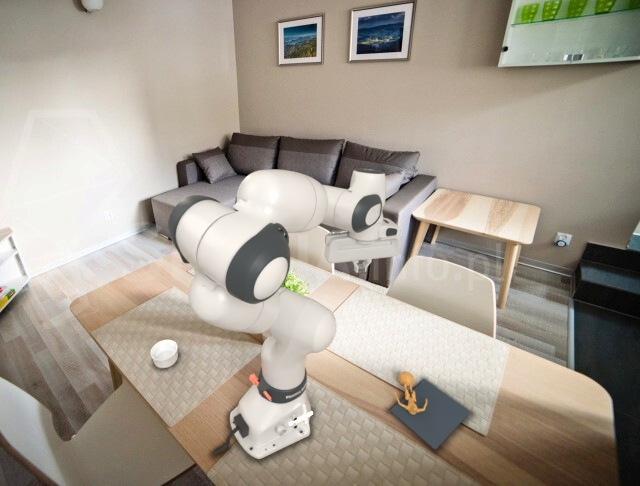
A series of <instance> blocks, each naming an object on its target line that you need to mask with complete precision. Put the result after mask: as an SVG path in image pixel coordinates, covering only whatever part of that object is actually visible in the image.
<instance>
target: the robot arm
mask: <svg viewBox="0 0 640 486" xmlns="http://www.w3.org/2000/svg"><path fill="white" fill-rule="evenodd" d="M386 198H387V178H386V173H385V172H384V171H382V170H379V169H374V168H370V167H369V168H368V167H367V168H366V167H358V168H356V169H354V170H353V171H352V175H351V178H350V184H349V188H342V187H337V186H333V185H328V184H325V183H321V182H320V181H318V180H317V179H315V178H313V177H312V176H309V175H307V174H304V173H301V172H297V171H293V170H287V169H275V168H274V169H269V168H268V169H259V170H255V171H253V172H251V173H249V174H248V175H247V176H245V178H244V179H243V180H241V183H240V184H239V186H238V190H237V192H236V202H235V204H234V205H232V207H230V206H228V205H226V204H223V203H221V202H220V201H219V200H218V199H216V198H214V197H210V196H207V195H201V194H194V195H190V196H187V197H185V198H183V199H181V200H179V202H178V203H177V204H176V205H175V206H174V207H173V209H172V210H171V213H170V215H169V218H168V222H167V232H168V234H169V237H170V240H171V242H172V243H173V245H174V247H175V249H176V251H177V253H178V254H179V257H180V258H181V260H182V263H183V264H186V265H187V264H189V265H190V266H191V267H192V268H193V271H194V276H193V279H192V280H191V283H190V284H189V288H188V305H189V307H190V309H191V311H192V312H193V314H194V315H195V317H197V318H198V319H200V320H201V321H203V322H205V323H207V324H209V325H211V326H213V327H215V328H219V329H222V330H226V331H231V332H236V333H237V332H238V333H244V334H252V335H259V334H262V333H267V334H269V336H268V337H266V339H265V340H264V342H263V343H262V345H261V348H260V363H261V364H260V365H261V366H260V370H259V373H258V375H256V373H252V374H251V373H250V375H249V377H248V380H249V381H250V382H251V383H252V385H251V386H250V388H249V389H248V390H247V391H246V392H245V394H244V395H242V397H241V398H240V399H239V402H238V405H237V406H236V407H235V408H234V409H232V411H231V412H230V414H229V424H230V429H231V431H230V432H229V433H228V435H227V437H226V439H225V443H224V444H223V445H222V446H221V447H219V448H217V449H216V450H214V451H213V452H212V453H213V455H214V456H217V455H219V454H221V453H222V452H225V450H226V449H228V447H229V446H230V444H231V439H232V437H233V436H234V437H235V439H236V440H237V442H238V444H239V446H241V448H242V449H243V450H244V451H245V452H246V453H247V454H248V455H249V456H251V457H252V458H254V459H257V460H260V459H263V458H266V457H267V456H269V455H272V454H274V453H276V452H278V451H280V450H282V449H285V448H286V447H289V446H291V445H292V444H295V443H296V442H298V441H301V440H303V439H305V438H307V437H309V436H310V435H311V427H310V420H311V419H310V418H311V416H312V415H313V414H314V412H313V410H312V405H311V402H310V400H309V397H308V394H307V386H308V373H307V367H306V361H307V356H308V355H310V354H319V353H321V352H323V351H325V350H327V349H328V348H329V347H330V346H331V345H332V343H333V341H334V340H335V337H336V333H337V319H336V317H335V314H334V312H333V311H332V310H331V309H329V308H328V307H327V306H325V305H324V304H322V303H320V302H319V301H317V300H316V299H314V298H311V297H308V296H306V295H303V294H301V293H298V292H296V291H293V290H291V289H289V288H286V287H283V286H282V285H283V284H284V283H285V282H286V279H287V278H288V274H289V271H290V267H291V249H290V246H289V245H290V237H289V236H290V235H289V234H303V233H307V232H310V231H312V230H314V229H316V228H318V227H319V226H320V225H321V224H322V225H325V226H329V227H332V228H337V229H338V230H334V229H333V230H331V231H330V232H328V233H327V234H326V235H325V238H324V243H325V247H324V252H323V253H324V258H325V260H326V261H327V262H328V264H339V263H348V262H349V263H350V262H352V264H353V270H354V272H355V274H358V273H366V272H367V270H368V267H369V265H370V264H371V263H372V260H375V259H385V258H395V257H398V256H399V255H400V254H401V251H402V237H401V232H402V229H401V228H400V226H399V225H397V224H396V223H395V222H394V221H393V220H392V219H390V218H388V217H384V214H383V210H384V207H385V205H386V200H387V199H386ZM359 261H363V262H362V263H359Z"/></svg>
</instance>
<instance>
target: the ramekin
mask: <svg viewBox="0 0 640 486" xmlns="http://www.w3.org/2000/svg"><path fill="white" fill-rule="evenodd" d="M178 348H179V347H178V343H177V342H176V341H175V340H172V339H162V340H160V341H158V342H156V343H155V344H154V345H152V347H151V349H150V353H149V354H150V357H151V359H152V361H153V363H154V365H155V367H157V368H159V369H166V368H170V367H172V366H173V365H174V364H175V363H176V362H177V361H178V357H179V351H178Z"/></svg>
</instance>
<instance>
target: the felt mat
mask: <svg viewBox="0 0 640 486" xmlns="http://www.w3.org/2000/svg"><path fill="white" fill-rule="evenodd" d="M412 391H415V395H416V402H414V403H415V404H416V405H417V408H418V409H423V408H424V405H425V403H426V399H427V406H426V408H425V411H420V412H417V413H416V414H415V415H412V414H410V413H409V411H408V410H407V409H405V408H404V407H402V406H401V405H399V403H398V402H397V403H396V404H395V405H394V406H392V408H390V410H389V412H390V413H391V414H392V415H394V417H396V418H397V419H398V420H399V421H400V422H402V424H404V425H405V426H406V427H407V428H408V429H410V430H411V431H412V432H413V433H414V434H415V435H417V436H418V437H419V438H420V439H421V440H422V441H423V442H425V443H426V444H427V445H428V446H429V447H430V448H432V449H433V450H434V451H436V450H437V449H438V448H439V447H440V446H441V445H442V443H443V442H444V441H446V439H447V438H448V437H449V436H450V435H451V434H452V433H453V432H454V431H455V430H456V428H457V427H458V426H459V425H460V424H461V423H462V422H463V421H464V420H465V419H466V418H467V416H469V414H470V413H471V411H470V410H468V409H467V408H465V406H463V405H461V404H460V403H459V402H457V401H456V400H455V399H453V398H452V397H450V396H449V395H447V394H446V393H445V392H443V391H442V390H440V389H439V388H438V387H436V386H435V385H434V384H432V383H431V382H429V381H428V380H426V379H423V380H422V381H421V382H420V383H418V385H416V387H415V388H412ZM409 394H410V397H411V394H412V393H411V391H410V392H409ZM411 398H412V397H411ZM399 401H400V403H401V404H403V405H406V406H408V400H406V399H405V396H404V397H403V398H402V399H401V400H399Z"/></svg>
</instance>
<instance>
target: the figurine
mask: <svg viewBox="0 0 640 486" xmlns="http://www.w3.org/2000/svg"><path fill="white" fill-rule="evenodd" d="M398 381H399V383H400V384H401V385H402V386H403V387H404V397H405V399H406V400H408V406H406V405H403V404H401V403H400V401H401V400H400V398H399V397H398V396H397V392H396V390H395V391H394V392H393V395H394V397H395V399H396V401H397V403H399V405H401V406H402V407H404V408H405V409H407V410H408V411H409V413H410V414H412V415H415V414H416V413H417V412H420V411H425V408H426V406H427V399H426V403H425V405H424V408H423V409H418V408H417V405H416V404H415V403H414V402H416V395H415V391H412V390H413V385H414V384H415V377H414V375H413V374H412V373H410V372H409V371H402V372H400V373H399V374H398ZM407 388H409V390H408V389H407ZM409 391H410V392H411V393H412V394H411V397H412V398H411V397H410V394H409V393H410V392H409Z"/></svg>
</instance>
